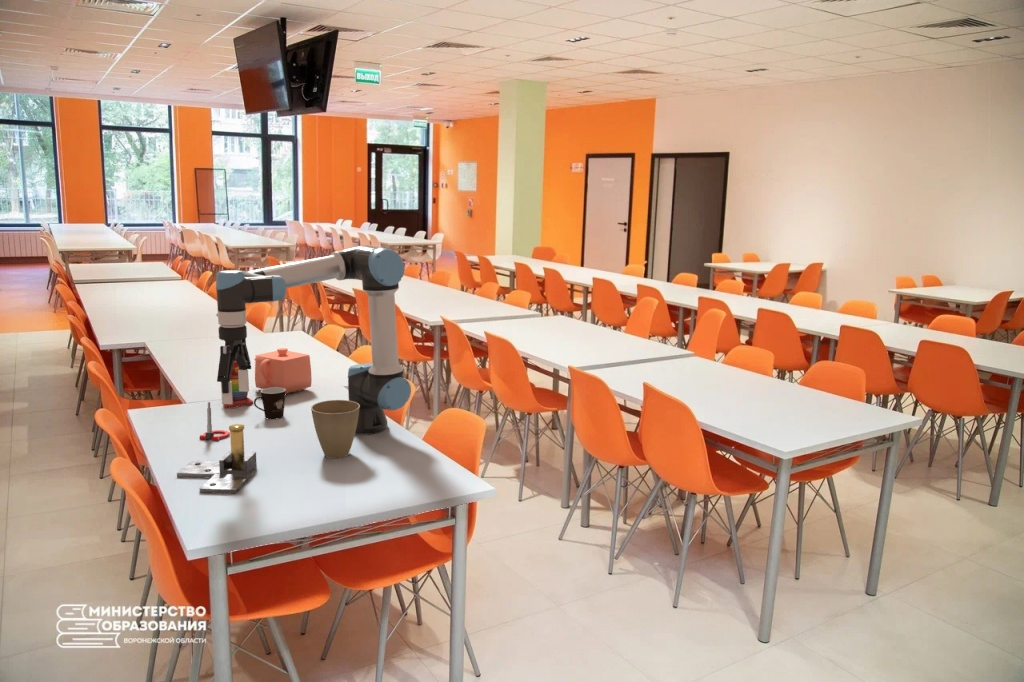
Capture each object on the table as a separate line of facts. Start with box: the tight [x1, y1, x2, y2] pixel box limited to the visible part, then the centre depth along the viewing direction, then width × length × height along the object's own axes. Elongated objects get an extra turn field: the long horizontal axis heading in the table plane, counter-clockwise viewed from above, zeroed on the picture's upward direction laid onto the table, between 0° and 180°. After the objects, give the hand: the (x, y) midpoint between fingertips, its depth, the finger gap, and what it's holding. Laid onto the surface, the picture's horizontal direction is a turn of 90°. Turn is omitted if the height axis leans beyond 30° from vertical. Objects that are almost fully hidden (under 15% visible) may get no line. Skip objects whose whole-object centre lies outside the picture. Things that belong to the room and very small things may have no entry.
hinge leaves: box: [176, 450, 258, 495], centre depth 217 cm, size 21×21×5 cm
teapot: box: [254, 347, 312, 395], centre depth 314 cm, size 25×23×18 cm
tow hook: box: [199, 401, 230, 442], centre depth 254 cm, size 8×13×9 cm
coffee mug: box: [253, 387, 286, 420], centre depth 276 cm, size 12×9×10 cm
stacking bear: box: [222, 361, 254, 409], centre depth 291 cm, size 11×10×18 cm
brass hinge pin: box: [228, 423, 246, 469], centre depth 222 cm, size 4×4×14 cm
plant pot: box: [310, 399, 360, 459], centre depth 238 cm, size 15×15×16 cm
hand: (235, 397), depth 219 cm, fingers open, 13 cm apart
